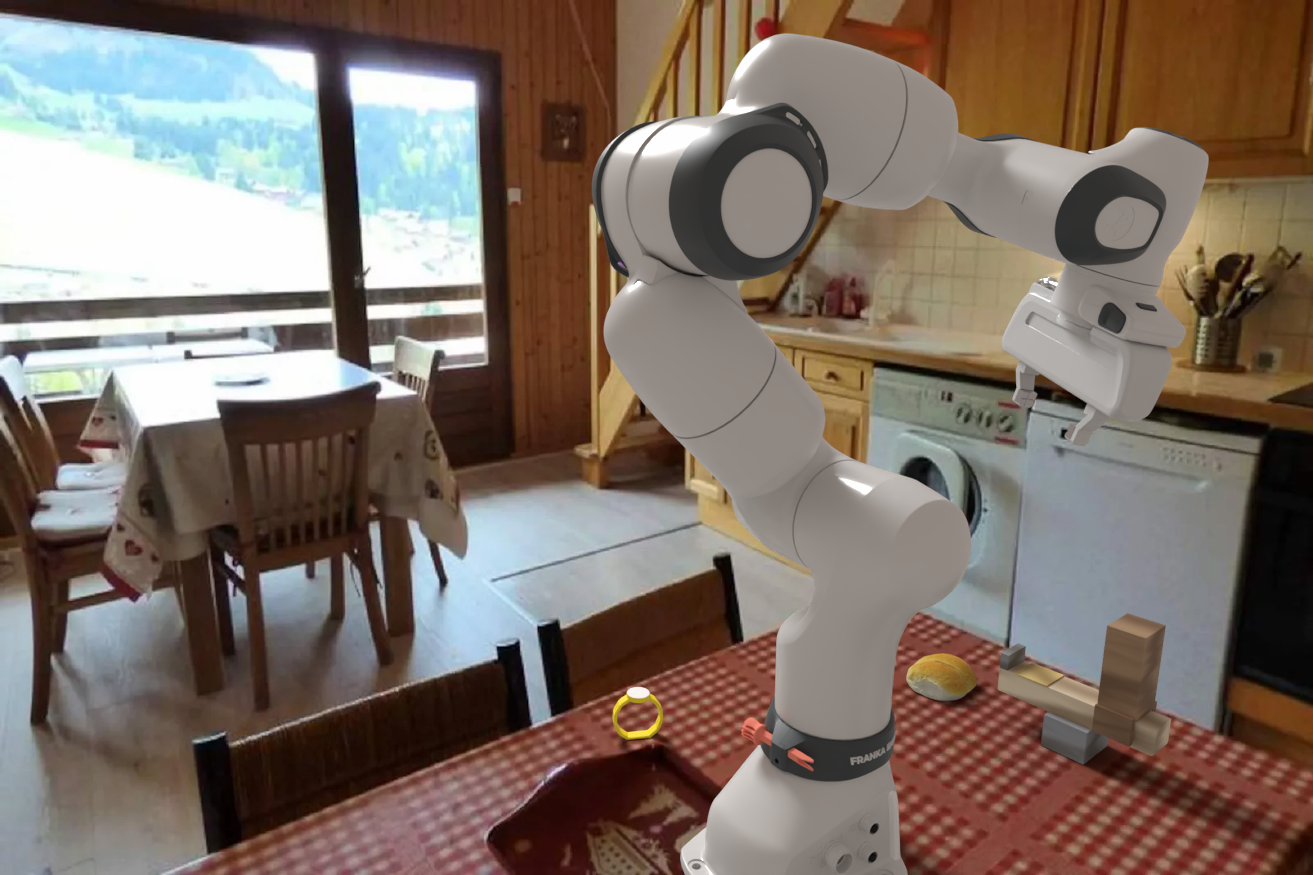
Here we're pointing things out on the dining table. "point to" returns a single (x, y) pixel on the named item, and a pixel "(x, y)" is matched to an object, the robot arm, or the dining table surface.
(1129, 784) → the dining table surface
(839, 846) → the robot arm
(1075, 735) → the seesaw
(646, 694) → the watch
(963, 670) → the bread roll
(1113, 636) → the plate
